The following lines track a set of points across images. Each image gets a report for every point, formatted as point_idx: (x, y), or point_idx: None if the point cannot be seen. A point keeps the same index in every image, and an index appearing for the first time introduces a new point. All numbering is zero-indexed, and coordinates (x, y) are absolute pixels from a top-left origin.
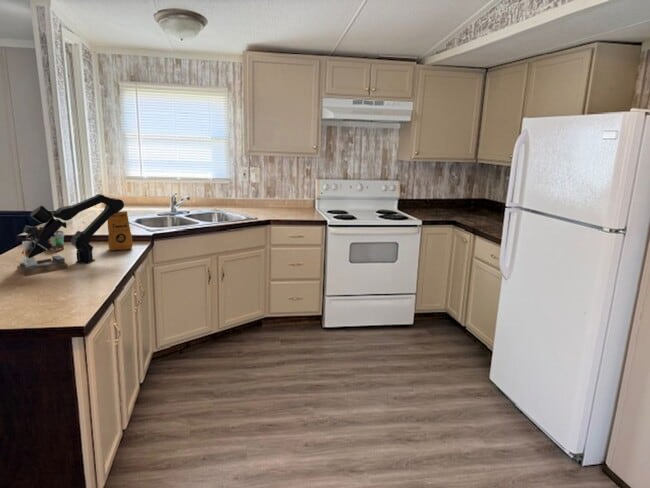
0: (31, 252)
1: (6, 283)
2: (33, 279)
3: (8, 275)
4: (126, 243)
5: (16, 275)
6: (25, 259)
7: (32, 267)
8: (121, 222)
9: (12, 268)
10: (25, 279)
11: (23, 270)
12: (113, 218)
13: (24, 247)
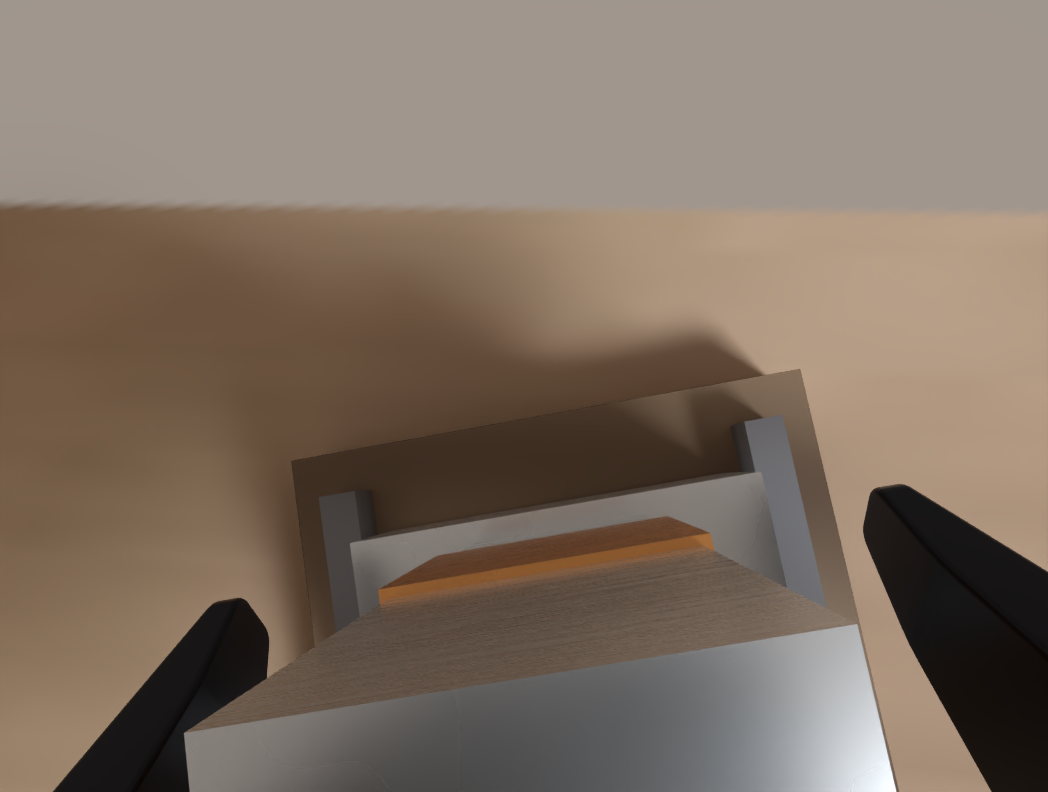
0: (69, 787)
1: (23, 215)
2: (5, 561)
3: (462, 246)
4: None
5: (394, 351)
6: (547, 534)
7: (341, 617)
8: None
9: (921, 313)
10: (76, 456)
11: (349, 454)
12: None
13: (401, 616)
